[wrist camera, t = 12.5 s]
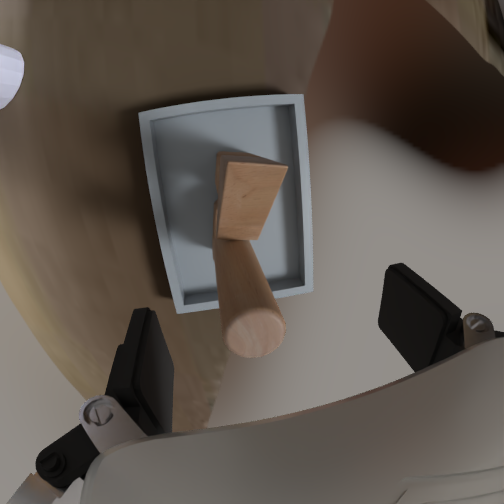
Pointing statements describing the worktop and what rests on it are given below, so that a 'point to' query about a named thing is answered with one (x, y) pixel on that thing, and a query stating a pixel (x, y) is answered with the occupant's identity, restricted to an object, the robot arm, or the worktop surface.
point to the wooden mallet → (245, 252)
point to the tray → (205, 193)
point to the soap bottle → (10, 73)
